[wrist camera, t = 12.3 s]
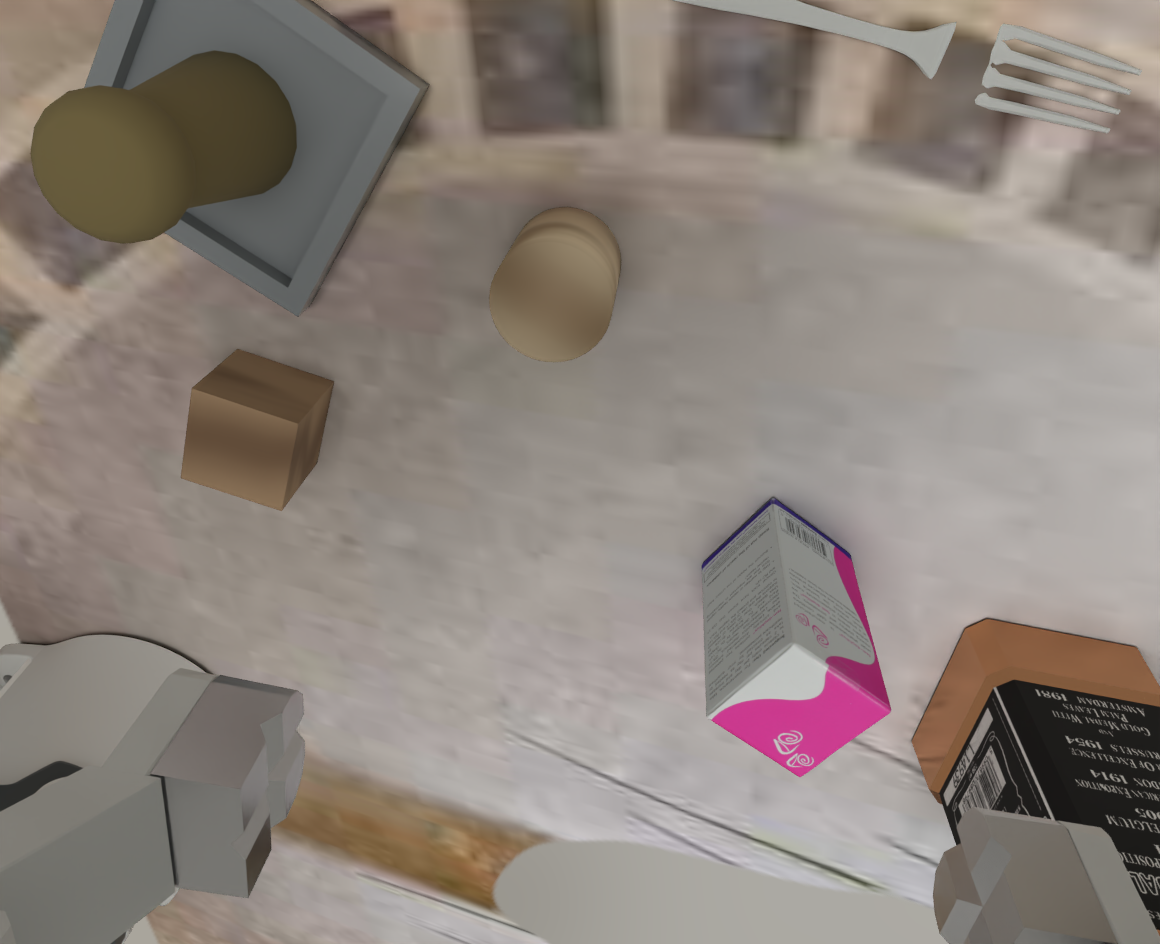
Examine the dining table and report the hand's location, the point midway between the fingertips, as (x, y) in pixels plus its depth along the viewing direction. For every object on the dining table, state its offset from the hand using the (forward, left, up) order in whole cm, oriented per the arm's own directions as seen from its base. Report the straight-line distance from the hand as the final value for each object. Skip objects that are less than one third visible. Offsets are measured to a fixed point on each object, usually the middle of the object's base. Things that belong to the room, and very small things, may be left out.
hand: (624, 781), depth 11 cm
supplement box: (-12, -16, -34) cm, 39 cm away
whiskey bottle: (-11, -33, -33) cm, 48 cm away
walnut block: (-20, +10, -33) cm, 40 cm away
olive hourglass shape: (-8, +17, -33) cm, 38 cm away
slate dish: (-8, +17, -33) cm, 38 cm away
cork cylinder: (-5, +2, -33) cm, 34 cm away
